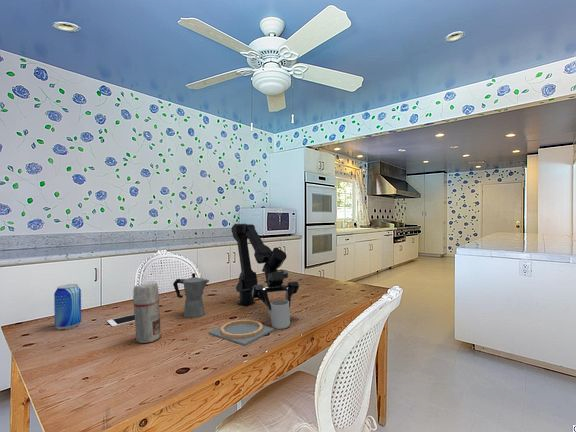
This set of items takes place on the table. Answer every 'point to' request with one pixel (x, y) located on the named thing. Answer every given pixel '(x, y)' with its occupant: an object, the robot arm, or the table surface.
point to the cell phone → (122, 320)
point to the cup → (279, 314)
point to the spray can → (146, 312)
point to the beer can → (67, 306)
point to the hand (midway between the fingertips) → (280, 308)
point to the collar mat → (242, 331)
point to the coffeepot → (192, 295)
